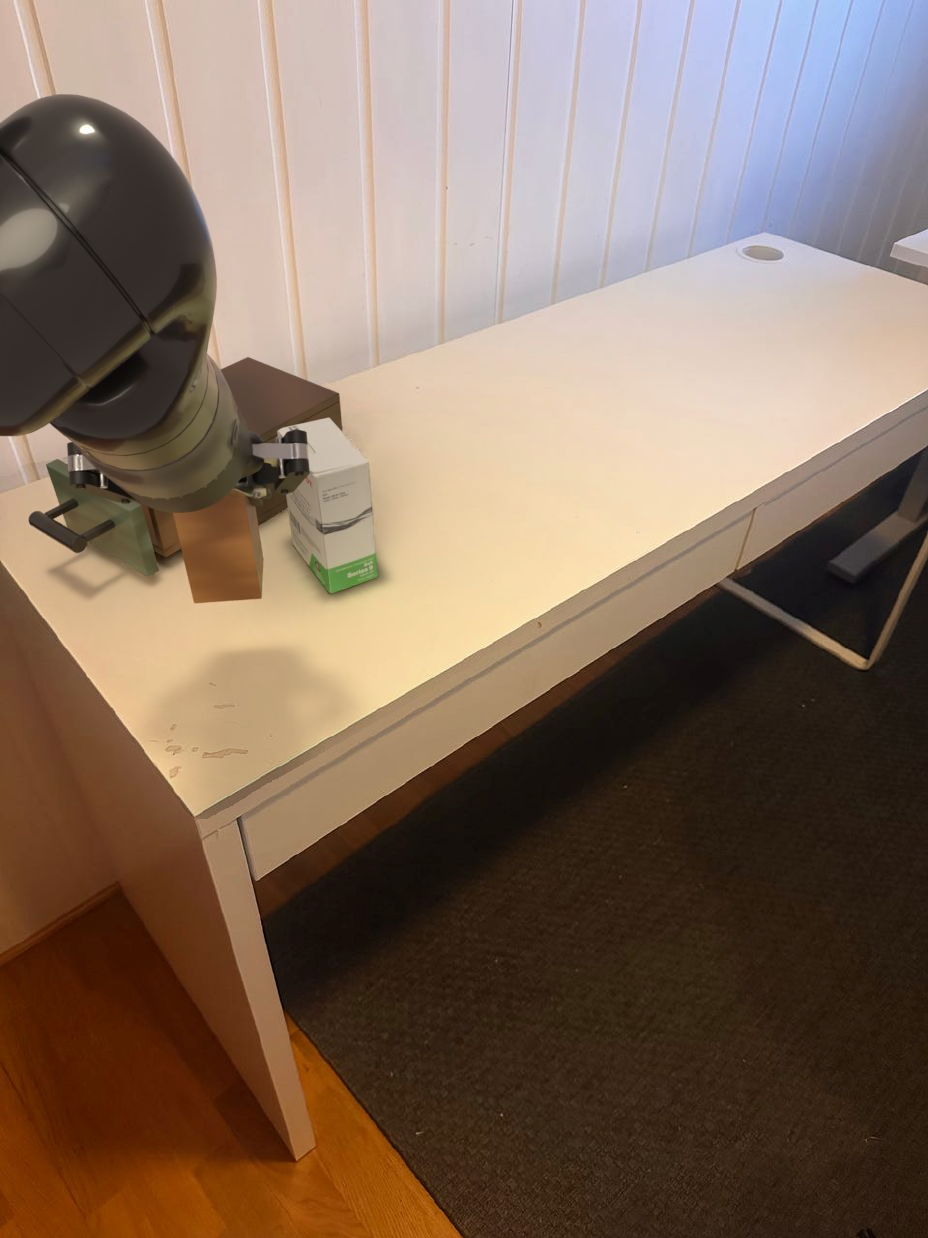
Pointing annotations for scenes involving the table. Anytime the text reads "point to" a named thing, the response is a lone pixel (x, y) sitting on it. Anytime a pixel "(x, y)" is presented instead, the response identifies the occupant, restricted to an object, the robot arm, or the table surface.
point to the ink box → (333, 509)
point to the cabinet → (277, 408)
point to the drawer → (107, 524)
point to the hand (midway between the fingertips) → (217, 493)
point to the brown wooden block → (222, 551)
